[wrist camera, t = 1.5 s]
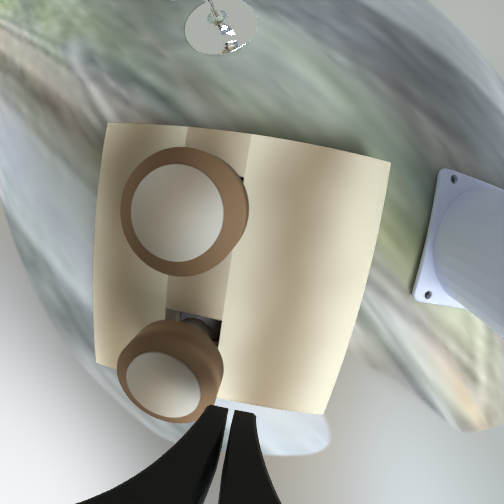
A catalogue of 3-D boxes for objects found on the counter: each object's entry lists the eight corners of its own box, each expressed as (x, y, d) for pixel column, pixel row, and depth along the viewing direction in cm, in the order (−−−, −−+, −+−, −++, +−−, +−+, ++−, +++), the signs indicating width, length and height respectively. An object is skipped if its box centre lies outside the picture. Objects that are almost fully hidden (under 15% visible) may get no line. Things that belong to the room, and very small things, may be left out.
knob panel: (373, 165, 16) (390, 162, 13) (319, 385, 19) (323, 414, 16) (132, 130, 17) (107, 122, 14) (117, 341, 20) (96, 362, 17)
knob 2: (239, 306, 16) (220, 357, 11) (228, 376, 17) (209, 437, 12) (157, 288, 16) (111, 328, 11) (154, 358, 17) (117, 409, 12)
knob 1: (263, 165, 14) (252, 154, 9) (248, 256, 15) (230, 290, 10) (173, 153, 15) (124, 141, 10) (162, 240, 16) (112, 265, 11)
